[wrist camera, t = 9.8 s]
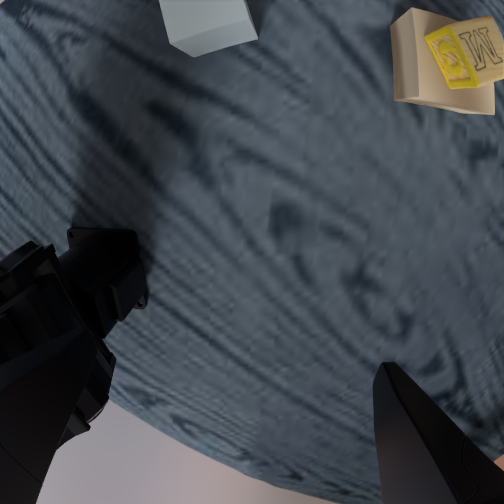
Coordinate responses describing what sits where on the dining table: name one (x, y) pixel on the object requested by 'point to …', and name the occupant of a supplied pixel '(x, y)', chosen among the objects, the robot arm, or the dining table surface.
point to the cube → (207, 24)
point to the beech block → (429, 68)
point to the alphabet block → (469, 52)
